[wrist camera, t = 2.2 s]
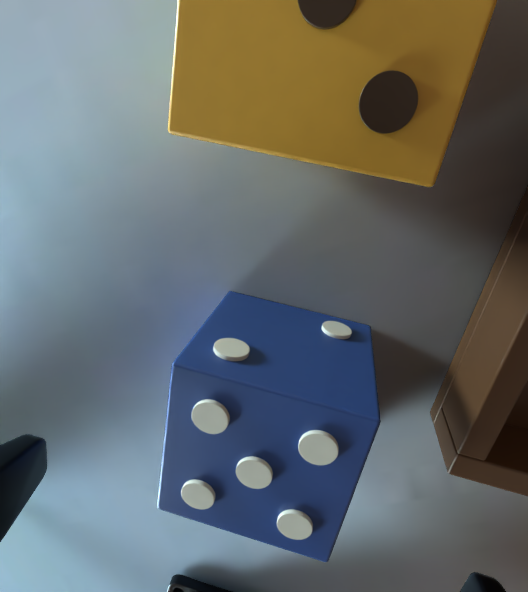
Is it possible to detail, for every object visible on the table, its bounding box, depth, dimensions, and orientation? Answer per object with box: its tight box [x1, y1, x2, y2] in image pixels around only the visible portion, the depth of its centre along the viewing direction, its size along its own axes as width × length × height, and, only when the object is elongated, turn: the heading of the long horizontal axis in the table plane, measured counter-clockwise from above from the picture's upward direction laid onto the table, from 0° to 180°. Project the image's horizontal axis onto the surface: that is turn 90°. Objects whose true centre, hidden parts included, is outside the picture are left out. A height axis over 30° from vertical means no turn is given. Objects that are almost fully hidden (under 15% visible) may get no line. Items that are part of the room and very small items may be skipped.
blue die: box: [157, 291, 381, 562], centre depth 11 cm, size 5×4×5 cm
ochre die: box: [168, 0, 497, 187], centre depth 8 cm, size 5×4×5 cm
